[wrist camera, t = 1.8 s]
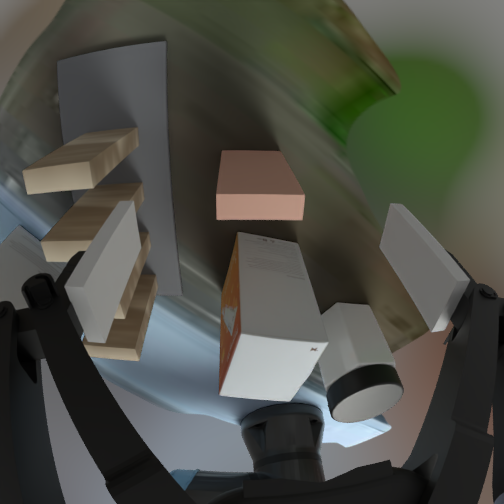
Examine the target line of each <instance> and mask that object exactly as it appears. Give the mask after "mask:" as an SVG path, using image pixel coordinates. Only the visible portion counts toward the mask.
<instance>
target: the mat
mask: <svg viewBox="0 0 504 504" xmlns="http://www.w3.org/2000/svg"><path fill="white" fill-rule="evenodd" d="M57 76H58V94H59V108H60V118H61V128H62V136H63V144H64V145H65V144H67V143H69V142H70V141H72V140H74V139H76V138H78V137H79V136H81V135H83V134H85V133H91V132H98V131H106V130H114V129H124V128H134V127H138V135H139V146H138V147H137V148H136V149H134V150H133V151H132V152H131V153H130V154H129V155H128V156H127V157H125V158H124V159H123V160H122V161H121V162H120V163H119V164H118V165H117V166H116V167H115V168H114V169H113V170H111V171H110V172H109V173H108V174H107V175H106V176H105V177H104V178H103V179H102V180H101V181H100V182H99V183H98V184H97V185H107V184H122V183H139V182H143V189H144V198H145V199H144V201H143V202H142V204H141V206H140V207H139V209H138V211H137V212H136V219H137V225H138V231H139V232H149V235H150V242H151V248H150V251H149V253H148V256H147V259H146V261H145V264H144V266H143V269H142V272H141V274H140V275H156V278H157V283H158V289H157V293H156V295H166V296H182V294H183V289H182V281H181V273H180V265H179V257H178V248H177V238H176V229H175V218H174V207H173V195H172V182H171V167H170V150H169V130H168V100H167V41H161V42H152V43H144V44H137V45H130V46H124V47H118V48H112V49H107V50H102V51H97V52H92V53H87V54H83V55H79V56H75V57H71V58H67V59H63V60H59V61H57ZM88 190H89V189H78V190H71V192H72V197H73V202H74V204H75V203H76V202H77V201H78V200H79V199H80V198H81V197H82V196H83V195H84V194H85V193H86V192H87V191H88Z"/></svg>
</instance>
